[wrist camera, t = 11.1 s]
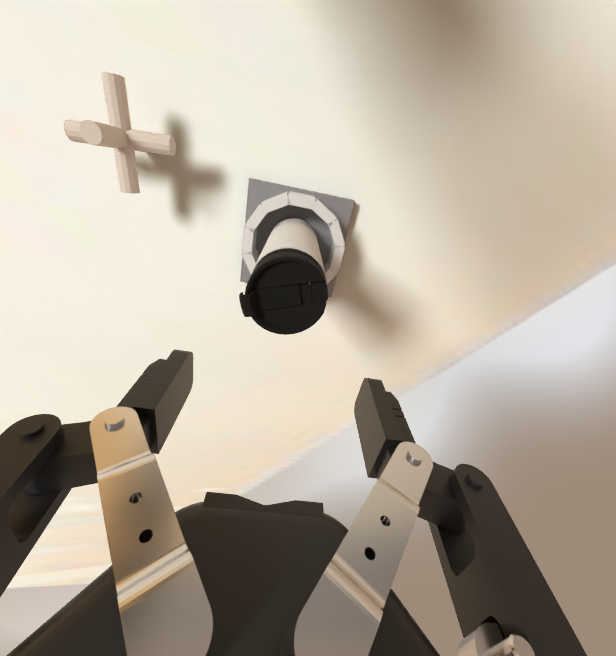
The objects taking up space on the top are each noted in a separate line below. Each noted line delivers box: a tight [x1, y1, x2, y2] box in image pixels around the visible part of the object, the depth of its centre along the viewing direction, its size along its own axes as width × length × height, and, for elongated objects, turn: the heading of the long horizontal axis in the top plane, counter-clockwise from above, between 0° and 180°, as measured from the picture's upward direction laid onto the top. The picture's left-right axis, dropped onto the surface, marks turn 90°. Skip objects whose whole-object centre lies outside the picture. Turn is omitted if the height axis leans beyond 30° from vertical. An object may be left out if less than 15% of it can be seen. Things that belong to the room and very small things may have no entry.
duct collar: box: [240, 178, 355, 297], centre depth 37 cm, size 13×13×5 cm
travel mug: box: [239, 217, 328, 335], centre depth 29 cm, size 6×7×20 cm
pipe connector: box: [64, 72, 176, 193], centre depth 29 cm, size 10×10×10 cm
